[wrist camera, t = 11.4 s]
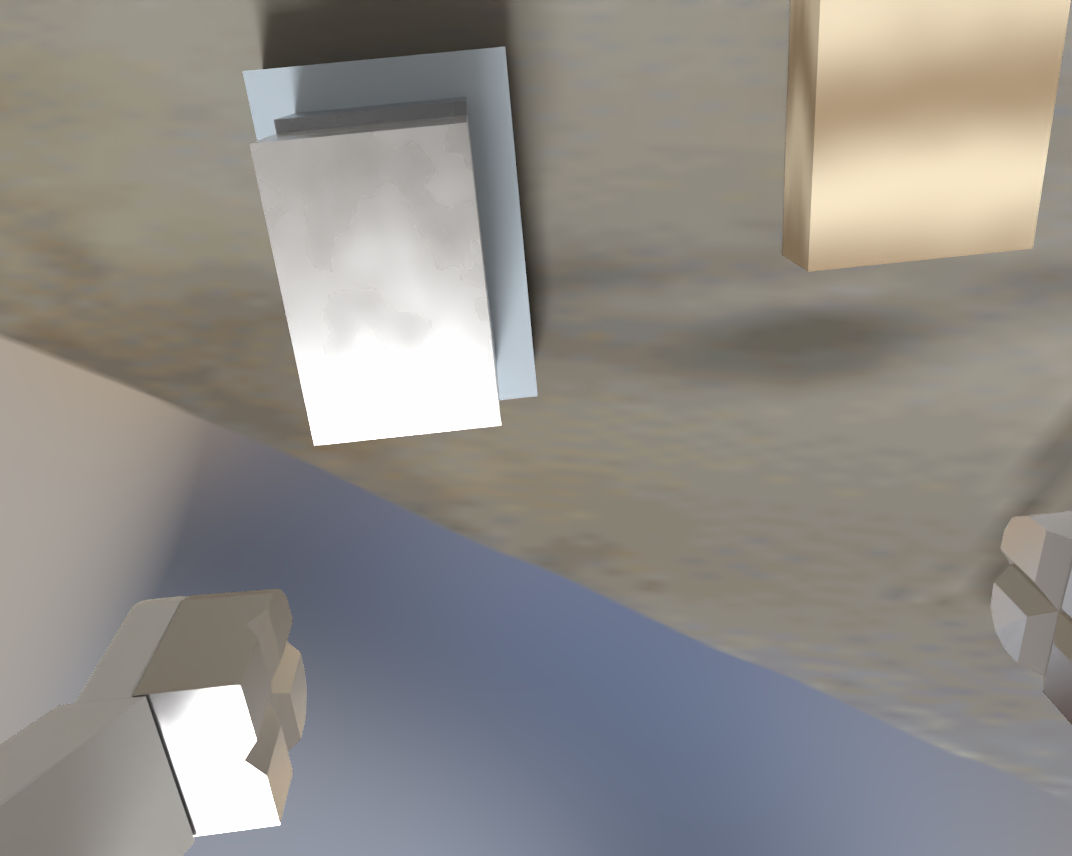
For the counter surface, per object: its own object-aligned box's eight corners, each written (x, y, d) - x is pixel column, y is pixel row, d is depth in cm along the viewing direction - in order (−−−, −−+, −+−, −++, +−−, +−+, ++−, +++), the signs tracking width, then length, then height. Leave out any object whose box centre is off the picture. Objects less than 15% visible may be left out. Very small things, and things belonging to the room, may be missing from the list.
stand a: (793, -103, 30) (825, -119, 28) (1037, -124, 31) (1092, -143, 28) (782, 255, 36) (808, 271, 33) (989, 233, 36) (1032, 248, 33)
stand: (262, 70, 31) (242, 71, 29) (502, 47, 32) (505, 46, 29) (327, 392, 37) (315, 419, 34) (532, 371, 37) (537, 395, 34)
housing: (295, 113, 29) (246, 128, 23) (466, 96, 30) (465, 107, 23) (346, 380, 33) (316, 456, 27) (496, 364, 34) (502, 436, 27)
